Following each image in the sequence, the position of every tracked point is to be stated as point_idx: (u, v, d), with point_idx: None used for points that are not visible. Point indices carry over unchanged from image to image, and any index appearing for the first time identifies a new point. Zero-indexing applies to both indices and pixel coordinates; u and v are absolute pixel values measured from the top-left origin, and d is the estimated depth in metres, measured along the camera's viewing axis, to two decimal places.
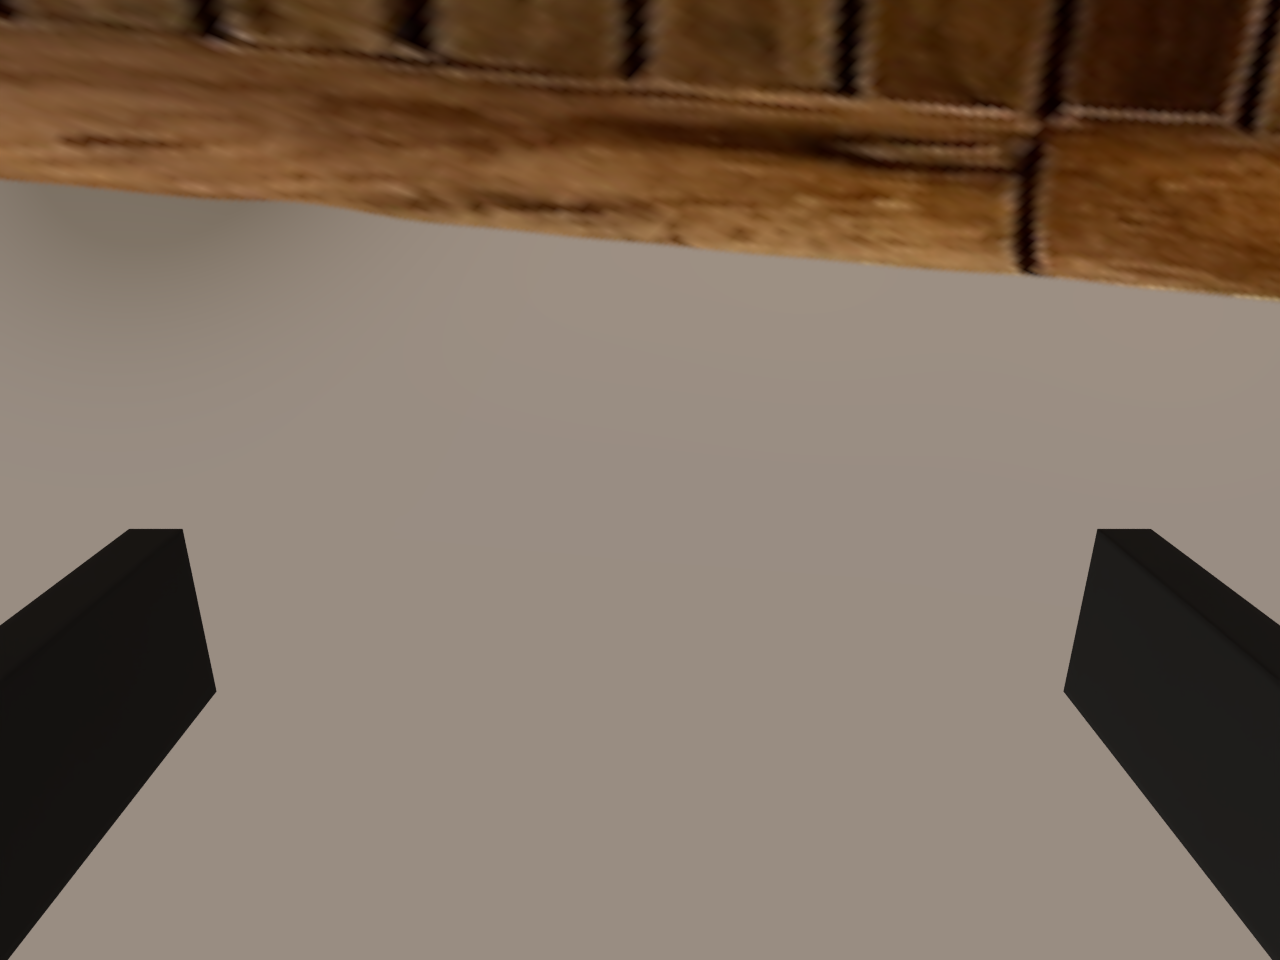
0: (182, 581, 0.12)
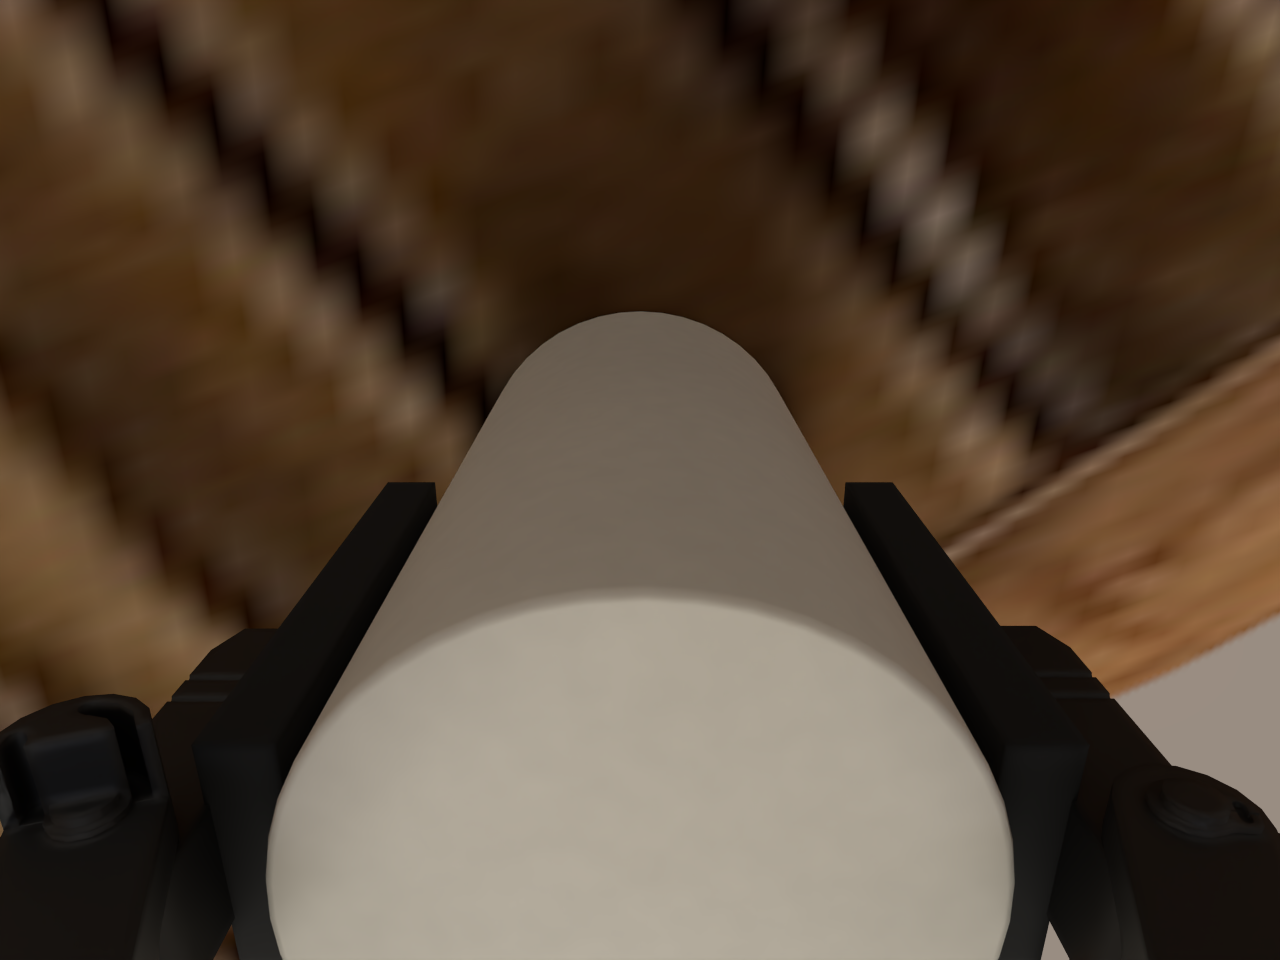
0: None
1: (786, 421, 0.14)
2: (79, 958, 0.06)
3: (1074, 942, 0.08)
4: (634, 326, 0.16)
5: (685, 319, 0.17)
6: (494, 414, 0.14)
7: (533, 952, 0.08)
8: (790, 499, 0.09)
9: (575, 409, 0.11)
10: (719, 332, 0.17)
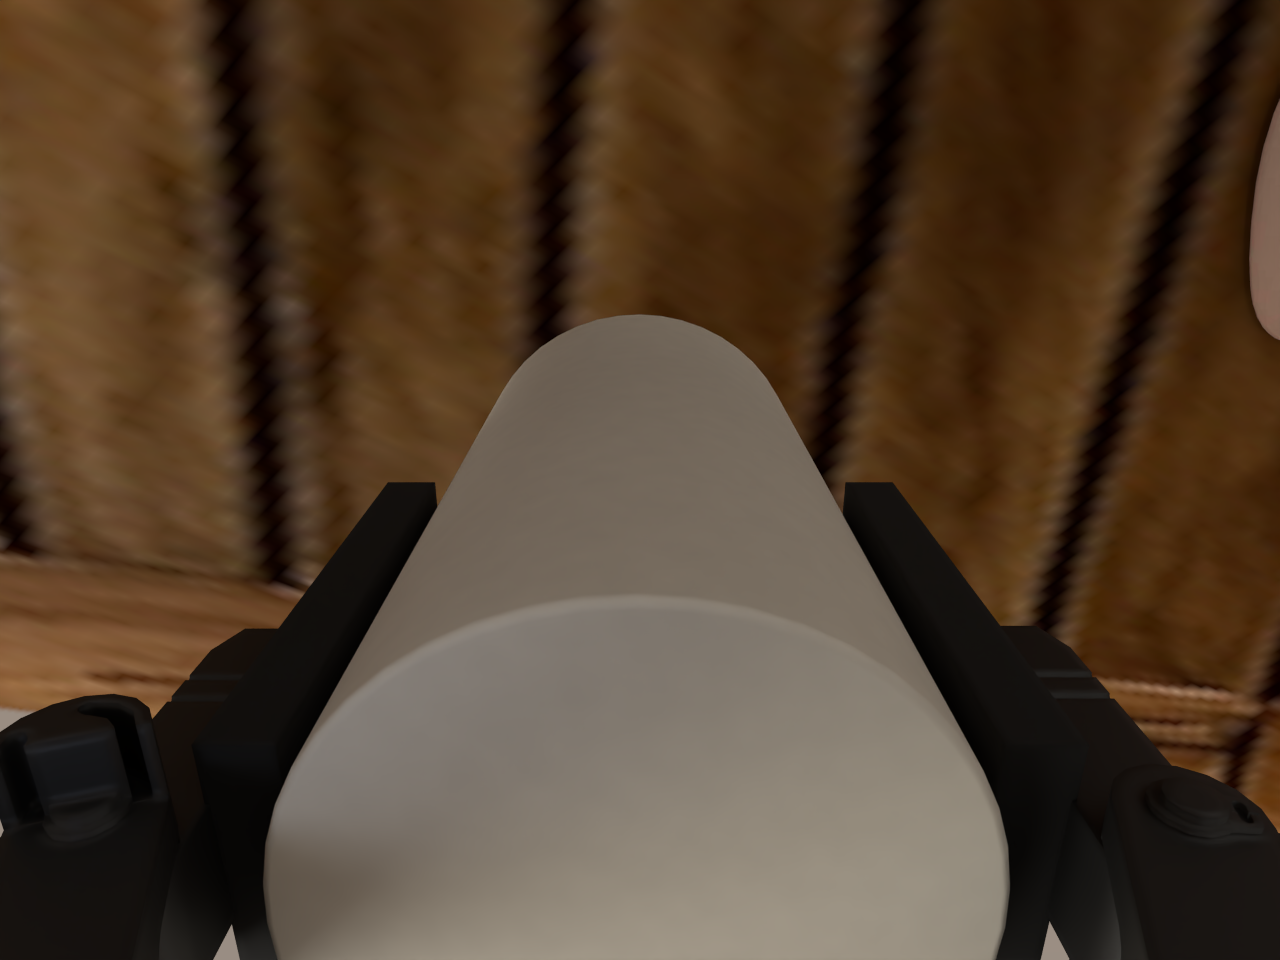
0: None
1: (784, 425, 0.14)
2: (79, 958, 0.06)
3: (1074, 942, 0.08)
4: (632, 330, 0.16)
5: (684, 322, 0.17)
6: (492, 418, 0.14)
7: (528, 957, 0.08)
8: (787, 505, 0.09)
9: (573, 414, 0.11)
10: None
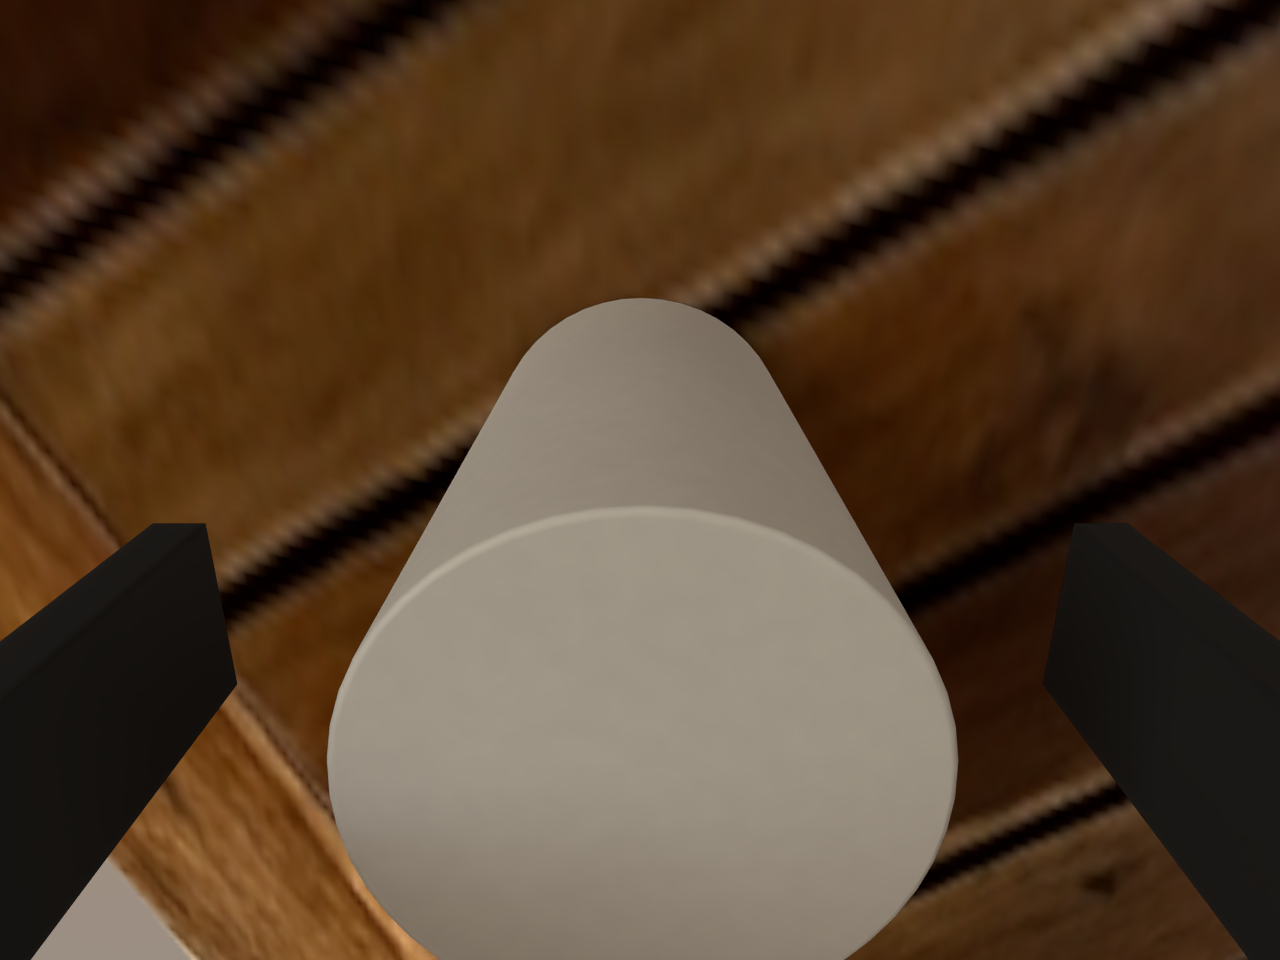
0: (205, 575, 0.12)
1: (774, 394, 0.15)
2: None
3: None
4: (636, 311, 0.17)
5: (683, 305, 0.18)
6: (508, 389, 0.16)
7: (551, 826, 0.09)
8: (772, 450, 0.11)
9: (584, 378, 0.13)
10: (714, 317, 0.19)
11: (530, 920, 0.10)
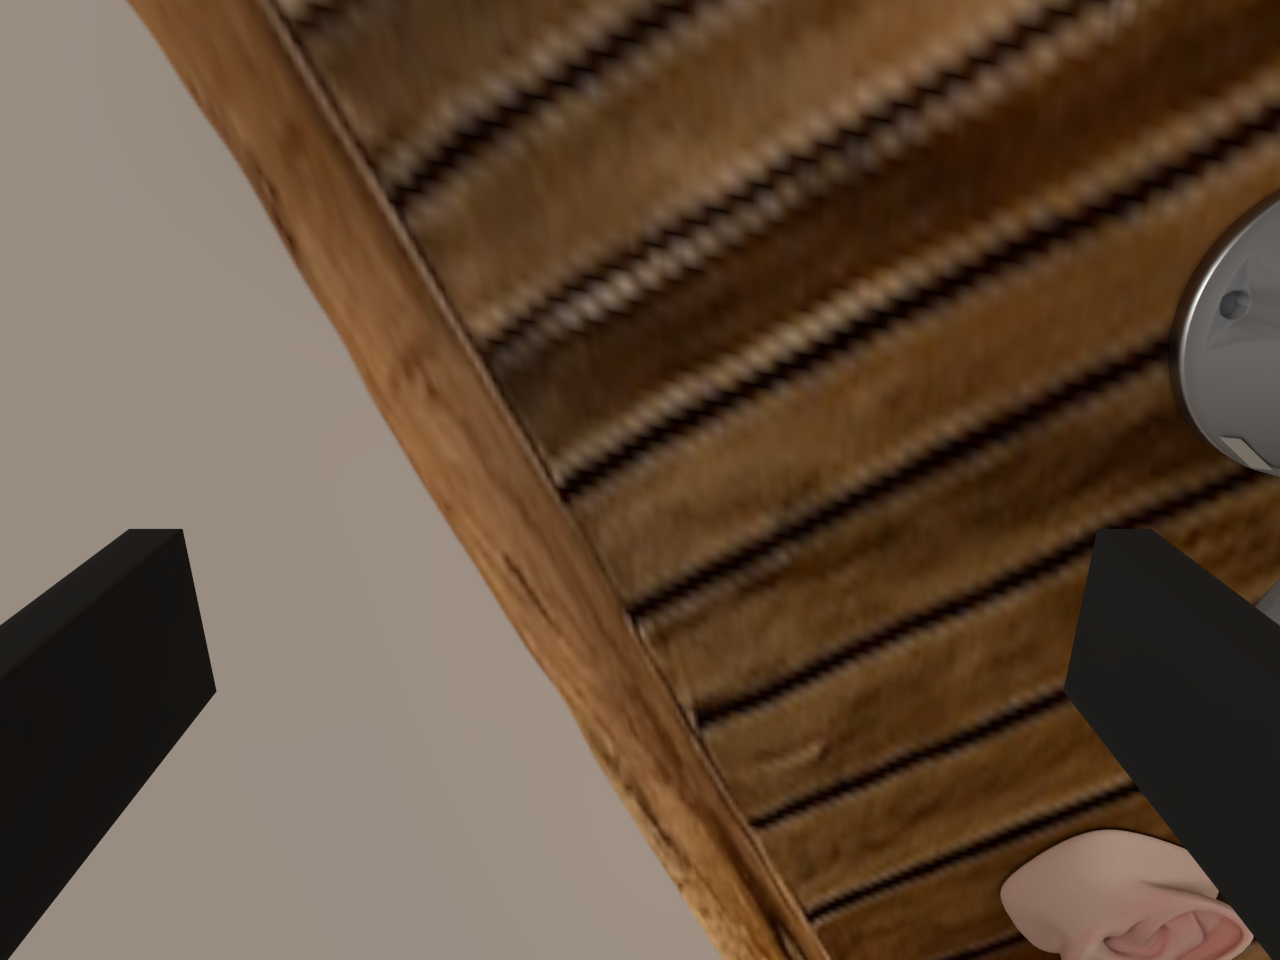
0: (182, 581, 0.12)
1: None
2: None
3: None
4: None
5: None
6: None
7: None
8: None
9: None
10: None
11: None
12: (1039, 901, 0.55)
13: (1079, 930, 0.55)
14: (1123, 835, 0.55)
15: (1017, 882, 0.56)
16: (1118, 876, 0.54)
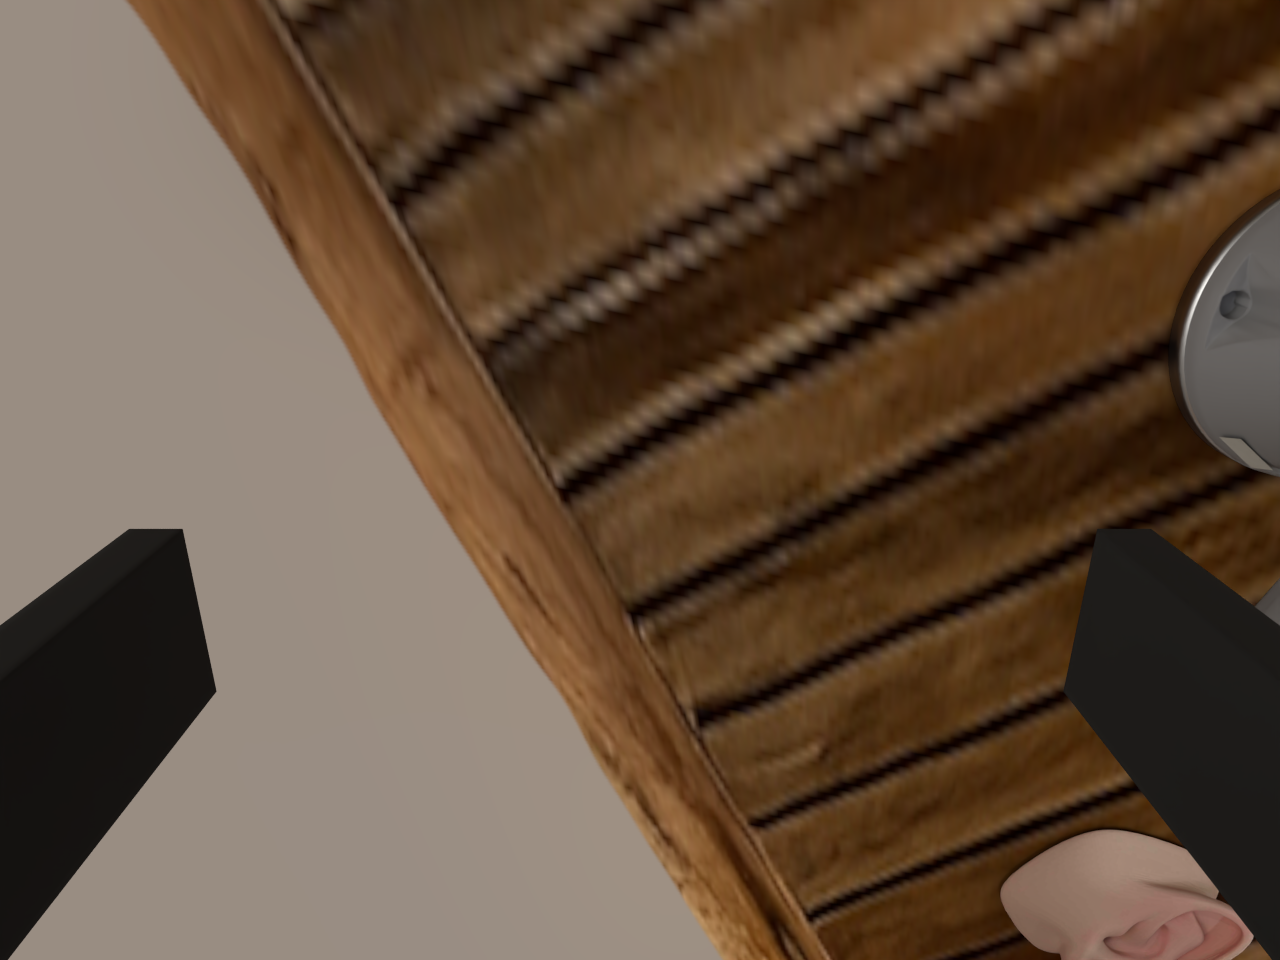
0: (182, 581, 0.12)
1: None
2: None
3: None
4: None
5: None
6: None
7: None
8: None
9: None
10: None
11: None
12: (1039, 901, 0.55)
13: (1079, 930, 0.55)
14: (1123, 835, 0.55)
15: (1017, 882, 0.56)
16: (1118, 876, 0.54)
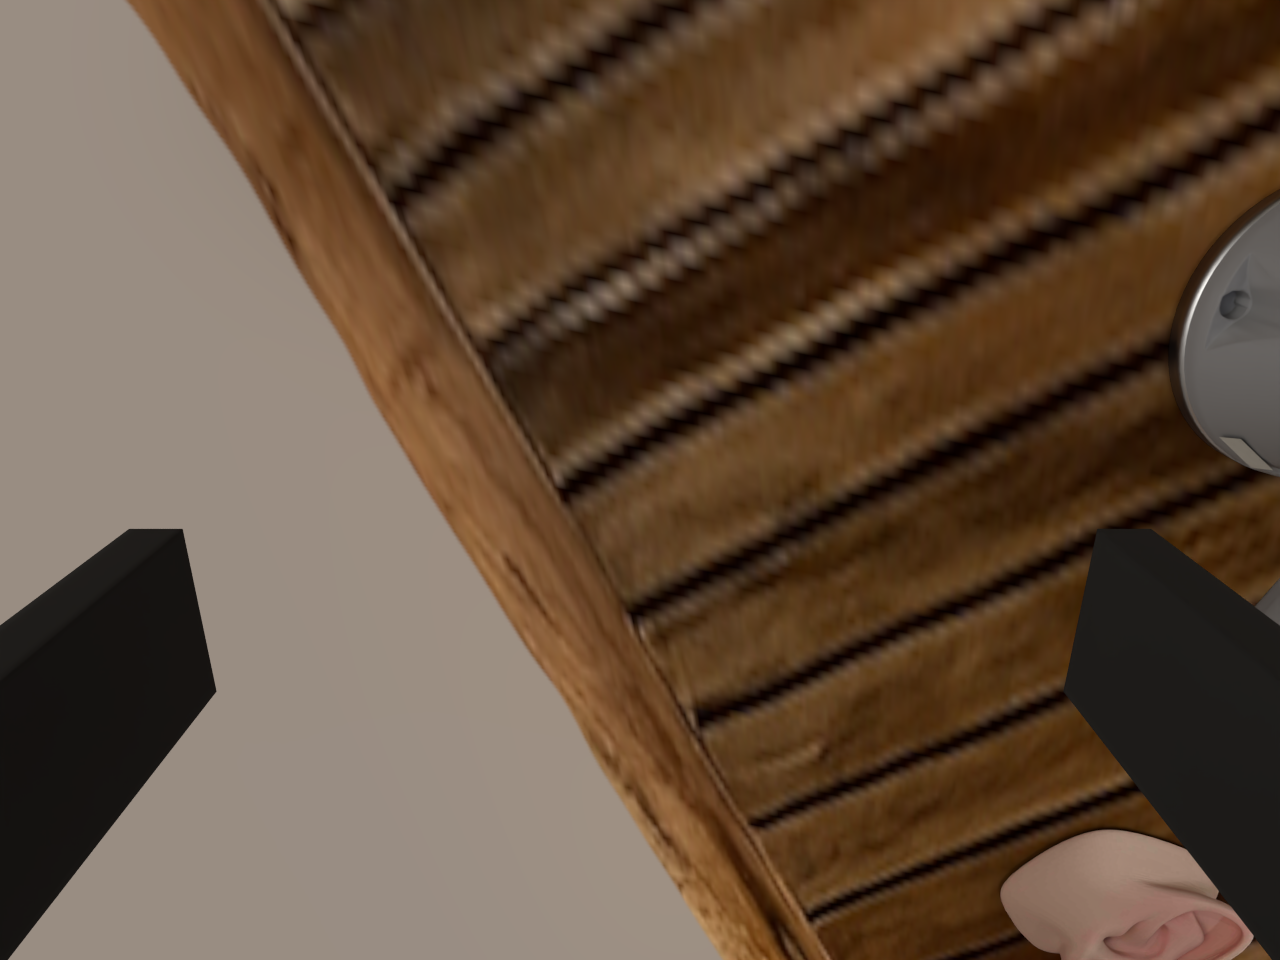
0: (182, 581, 0.12)
1: None
2: None
3: None
4: None
5: None
6: None
7: None
8: None
9: None
10: None
11: None
12: (1039, 901, 0.55)
13: (1079, 930, 0.55)
14: (1123, 835, 0.55)
15: (1017, 882, 0.56)
16: (1118, 876, 0.54)
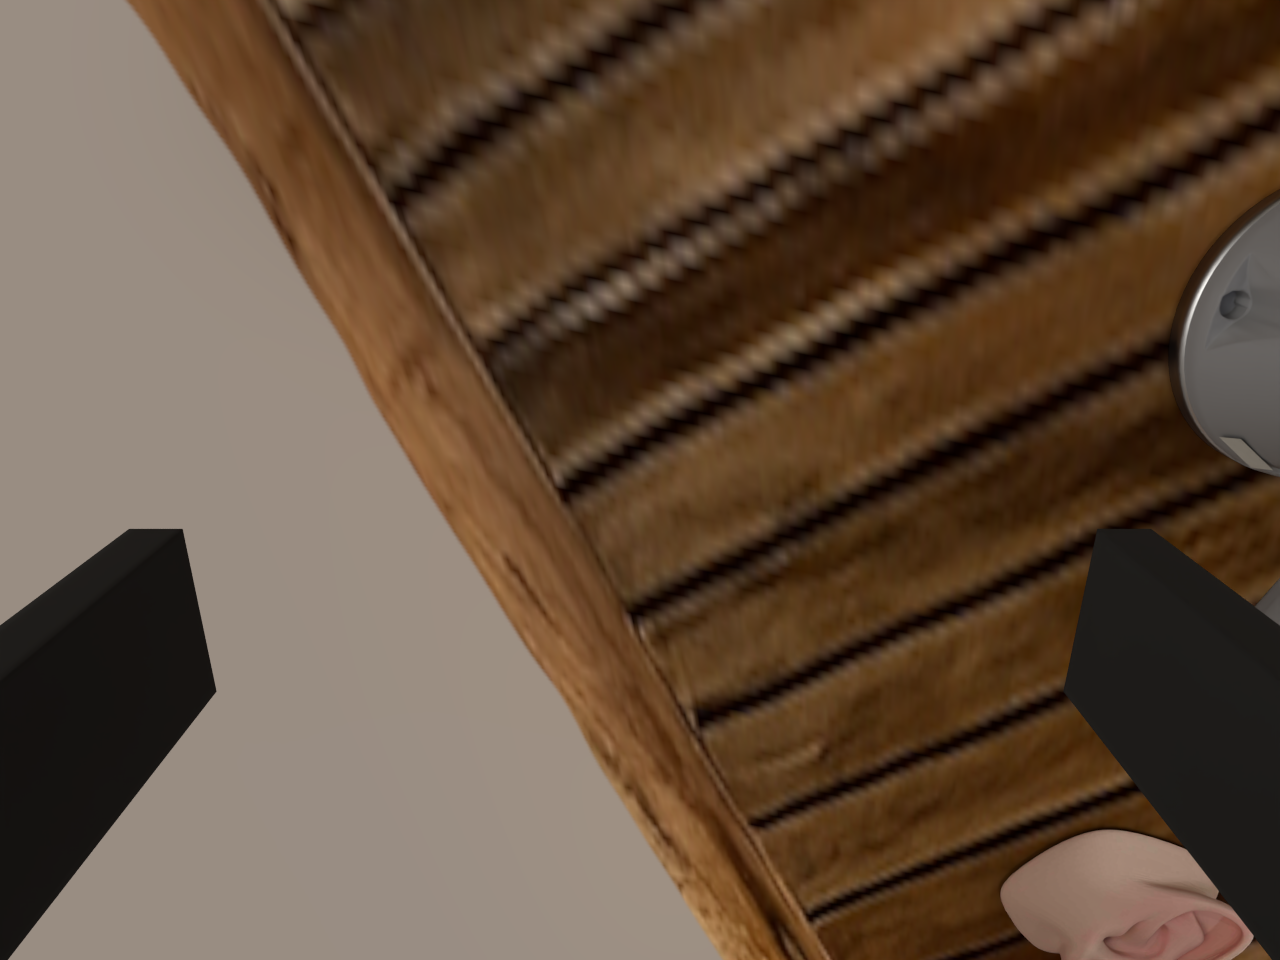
0: (182, 581, 0.12)
1: None
2: None
3: None
4: None
5: None
6: None
7: None
8: None
9: None
10: None
11: None
12: (1039, 901, 0.55)
13: (1079, 930, 0.55)
14: (1123, 835, 0.55)
15: (1017, 882, 0.56)
16: (1118, 876, 0.54)
